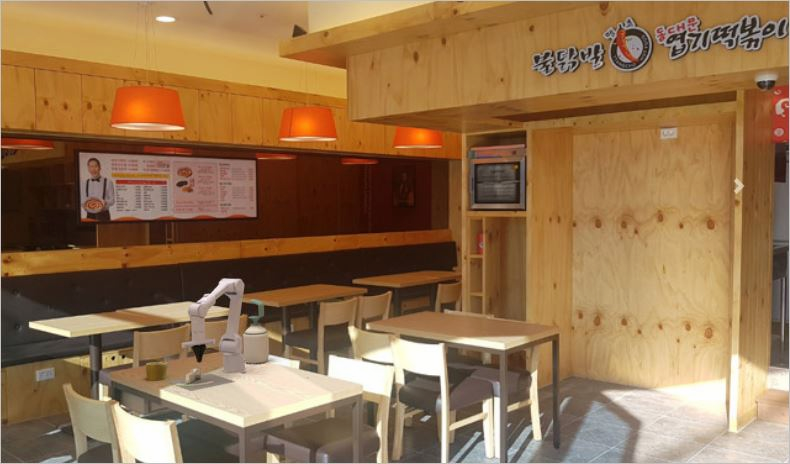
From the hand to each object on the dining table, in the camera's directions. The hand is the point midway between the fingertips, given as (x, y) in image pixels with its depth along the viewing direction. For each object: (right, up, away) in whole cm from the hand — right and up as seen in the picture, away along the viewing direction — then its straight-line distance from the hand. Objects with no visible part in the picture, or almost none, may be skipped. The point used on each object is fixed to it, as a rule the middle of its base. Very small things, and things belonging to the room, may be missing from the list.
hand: (199, 362), depth 308 cm
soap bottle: (+17, -8, +43) cm, 47 cm away
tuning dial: (-4, -9, +2) cm, 10 cm away
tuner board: (0, -10, +1) cm, 10 cm away
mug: (-21, -10, +11) cm, 26 cm away
